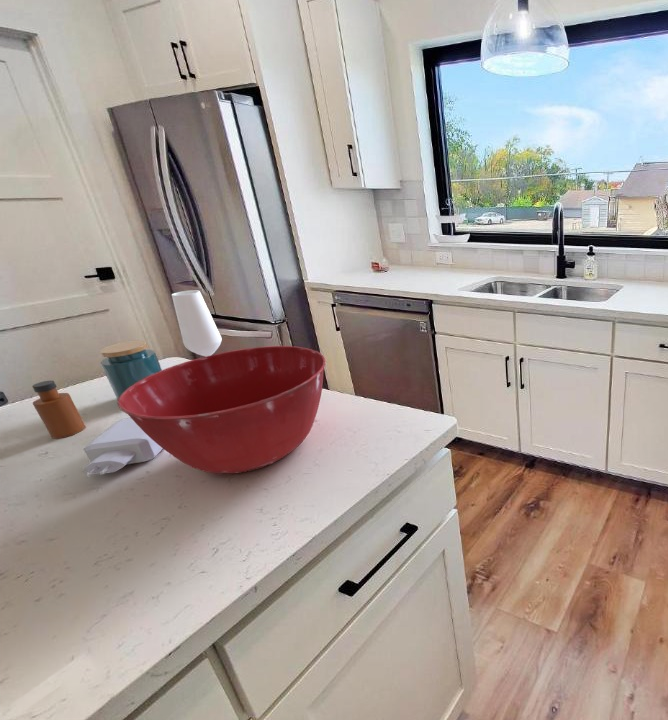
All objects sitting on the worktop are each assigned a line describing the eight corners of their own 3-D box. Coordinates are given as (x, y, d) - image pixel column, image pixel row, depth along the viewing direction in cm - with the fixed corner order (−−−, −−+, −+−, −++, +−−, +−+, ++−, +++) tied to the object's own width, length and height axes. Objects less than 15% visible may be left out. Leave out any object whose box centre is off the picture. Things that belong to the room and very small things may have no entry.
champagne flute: (245, 390, 99) (212, 290, 89) (215, 403, 93) (176, 298, 84) (228, 385, 101) (194, 288, 92) (197, 397, 96) (158, 295, 86)
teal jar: (108, 408, 92) (83, 355, 87) (137, 389, 100) (115, 340, 95) (154, 404, 93) (132, 352, 88) (179, 386, 101) (160, 338, 96)
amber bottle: (44, 439, 80) (15, 390, 76) (65, 426, 85) (39, 379, 81) (72, 437, 81) (46, 388, 77) (92, 424, 86) (68, 377, 81)
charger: (66, 492, 66) (125, 440, 80) (134, 482, 68) (181, 433, 82) (52, 468, 65) (115, 419, 78) (123, 458, 67) (173, 412, 80)
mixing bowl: (289, 399, 94) (271, 335, 88) (373, 434, 81) (358, 360, 74) (128, 468, 72) (88, 388, 66) (206, 531, 58) (166, 438, 52)
